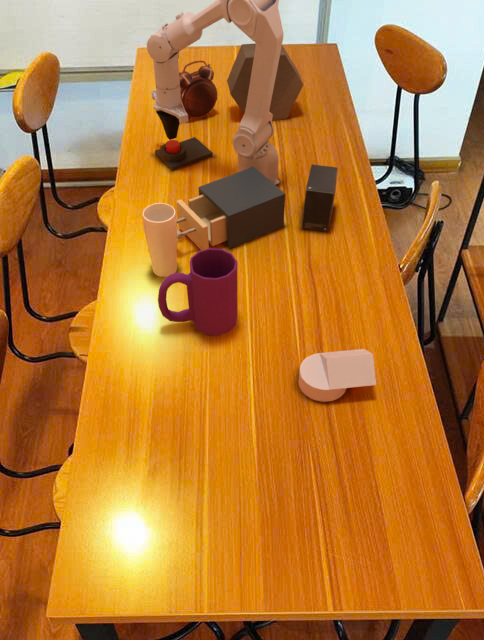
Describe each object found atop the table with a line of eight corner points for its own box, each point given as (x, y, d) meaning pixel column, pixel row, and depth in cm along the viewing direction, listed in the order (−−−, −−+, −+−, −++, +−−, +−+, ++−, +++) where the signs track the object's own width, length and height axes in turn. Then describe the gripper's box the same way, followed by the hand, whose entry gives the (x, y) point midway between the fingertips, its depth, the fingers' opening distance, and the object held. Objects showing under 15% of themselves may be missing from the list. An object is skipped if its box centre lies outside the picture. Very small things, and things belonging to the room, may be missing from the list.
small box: (329, 233, 157) (334, 193, 148) (300, 229, 158) (304, 190, 149) (334, 205, 163) (339, 166, 155) (306, 202, 164) (310, 163, 156)
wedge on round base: (361, 360, 132) (294, 367, 131) (366, 336, 126) (296, 342, 126) (373, 396, 126) (303, 403, 125) (379, 372, 121) (306, 379, 120)
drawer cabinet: (229, 248, 154) (228, 215, 147) (200, 219, 161) (198, 186, 154) (283, 226, 158) (285, 193, 152) (252, 199, 165) (253, 166, 159)
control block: (195, 141, 182) (194, 130, 180) (212, 156, 177) (212, 146, 175) (154, 155, 178) (153, 144, 176) (171, 171, 173) (170, 160, 171)
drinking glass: (185, 264, 151) (180, 205, 139) (173, 283, 147) (168, 225, 135) (156, 257, 152) (150, 199, 140) (144, 277, 148) (136, 218, 136)
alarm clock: (211, 108, 193) (210, 53, 181) (219, 115, 190) (217, 60, 179) (176, 117, 190) (171, 62, 178) (182, 125, 187) (179, 70, 176)
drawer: (185, 261, 150) (183, 235, 144) (160, 233, 156) (157, 207, 151) (255, 232, 156) (256, 206, 150) (228, 207, 162) (228, 181, 157)
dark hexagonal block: (307, 86, 190) (269, 23, 176) (313, 100, 185) (274, 36, 171) (256, 122, 196) (215, 64, 182) (260, 136, 191) (218, 78, 177)
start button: (175, 144, 176) (175, 138, 175) (182, 151, 174) (182, 144, 173) (163, 148, 175) (162, 142, 174) (170, 155, 173) (169, 149, 172)
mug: (241, 334, 137) (241, 276, 125) (163, 343, 135) (156, 286, 124) (233, 303, 142) (233, 244, 131) (159, 311, 141) (152, 253, 130)
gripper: (138, 76, 164) (144, 129, 175) (167, 101, 156) (172, 155, 167) (164, 68, 167) (168, 121, 177) (194, 93, 159) (197, 147, 169)
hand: (171, 137), depth 172 cm, fingers closed
